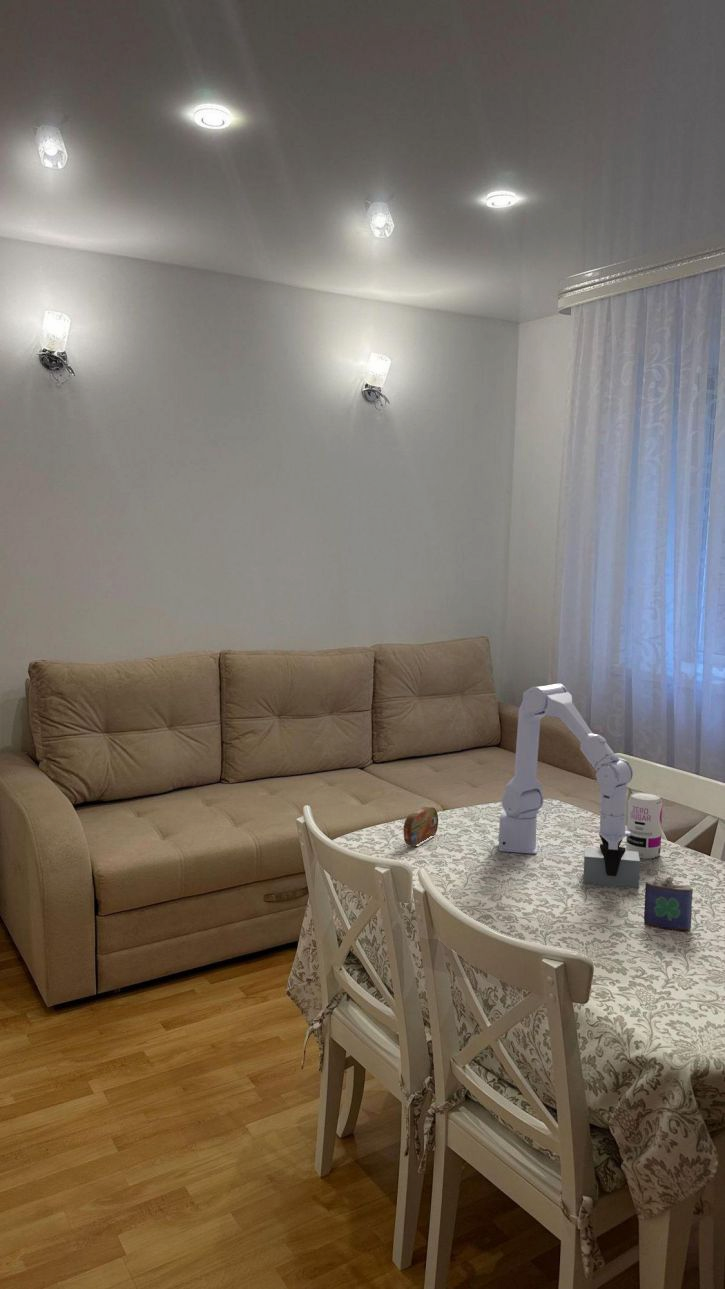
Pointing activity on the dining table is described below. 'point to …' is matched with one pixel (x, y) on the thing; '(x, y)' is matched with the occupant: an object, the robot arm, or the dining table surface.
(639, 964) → the dining table surface
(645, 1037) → the dining table surface
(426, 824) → the tin
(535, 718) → the robot arm
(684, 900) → the flask
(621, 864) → the grey rectangular prism
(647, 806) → the supplement can
